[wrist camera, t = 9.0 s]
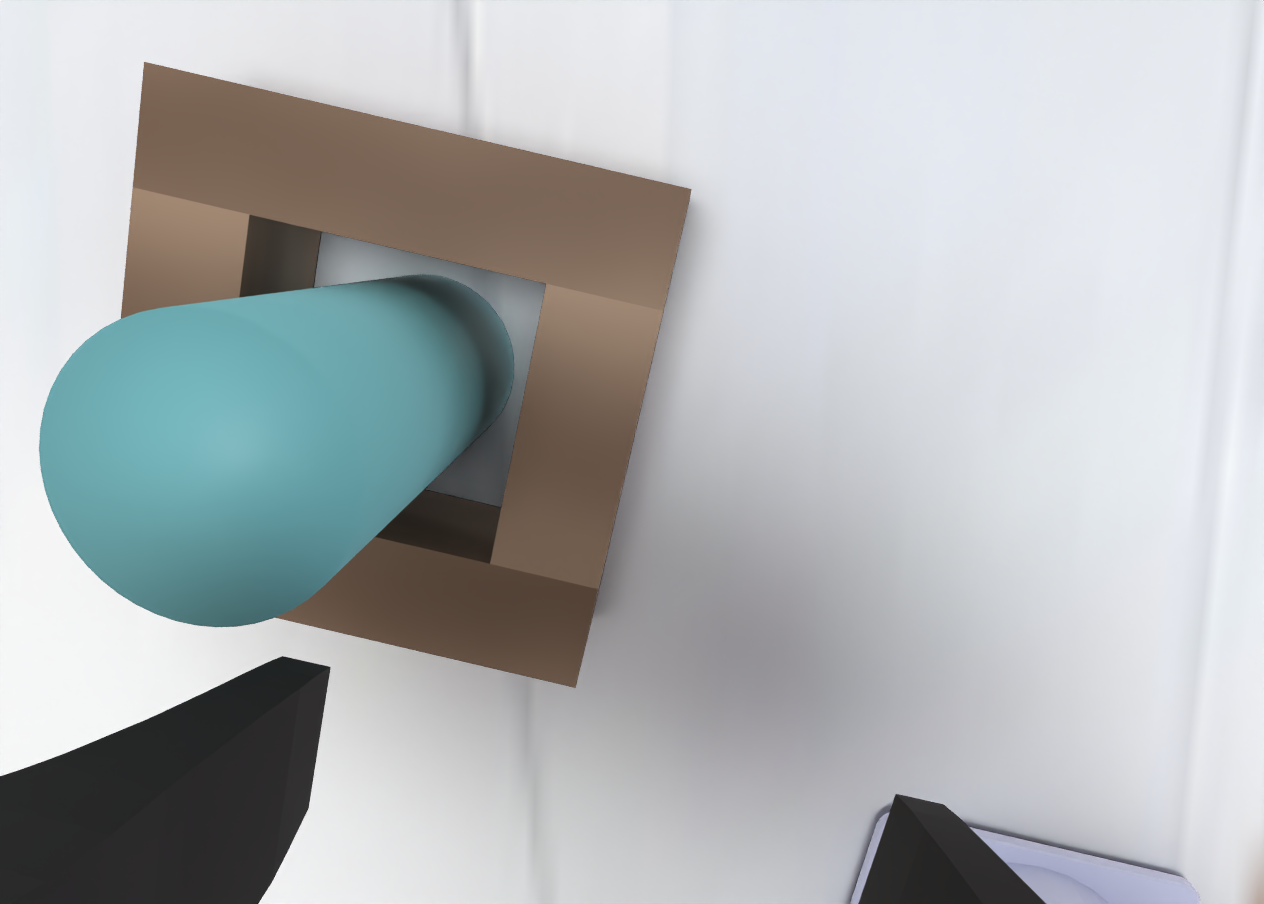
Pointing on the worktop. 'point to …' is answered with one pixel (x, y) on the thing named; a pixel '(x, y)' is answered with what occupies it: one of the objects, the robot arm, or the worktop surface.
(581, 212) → the socket block
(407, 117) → the worktop surface
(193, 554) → the peg
